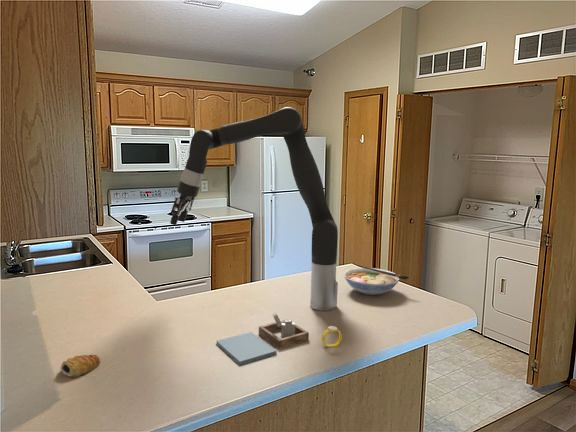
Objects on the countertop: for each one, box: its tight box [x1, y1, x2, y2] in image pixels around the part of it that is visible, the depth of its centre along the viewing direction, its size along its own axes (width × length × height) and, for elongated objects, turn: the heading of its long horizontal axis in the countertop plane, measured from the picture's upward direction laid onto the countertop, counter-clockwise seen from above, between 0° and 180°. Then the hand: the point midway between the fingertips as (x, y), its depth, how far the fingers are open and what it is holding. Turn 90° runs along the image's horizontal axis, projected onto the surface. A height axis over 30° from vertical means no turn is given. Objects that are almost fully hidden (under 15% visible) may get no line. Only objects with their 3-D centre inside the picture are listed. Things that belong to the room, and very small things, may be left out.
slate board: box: [216, 331, 278, 366], centre depth 130 cm, size 12×15×1 cm
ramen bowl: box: [343, 265, 409, 296], centre depth 181 cm, size 25×23×8 cm
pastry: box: [60, 354, 101, 378], centre depth 117 cm, size 9×7×4 cm
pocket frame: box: [258, 319, 310, 349], centre depth 138 cm, size 11×12×2 cm
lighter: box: [271, 312, 296, 339], centre depth 138 cm, size 7×2×8 cm, turn 104°
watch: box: [321, 325, 343, 348], centre depth 132 cm, size 6×3×6 cm, turn 107°
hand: (177, 222), depth 164 cm, fingers open, 8 cm apart
